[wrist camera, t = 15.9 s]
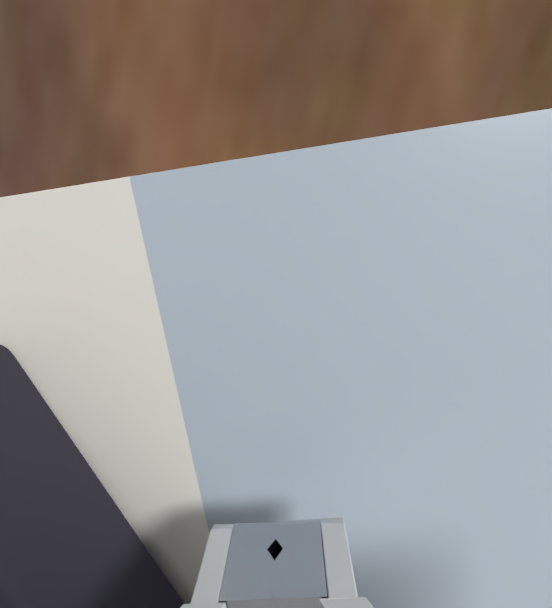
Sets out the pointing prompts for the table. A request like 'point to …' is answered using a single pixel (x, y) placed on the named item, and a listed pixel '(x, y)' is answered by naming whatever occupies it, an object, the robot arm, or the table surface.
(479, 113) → the table surface
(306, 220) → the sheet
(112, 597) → the calculator
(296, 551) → the robot arm
